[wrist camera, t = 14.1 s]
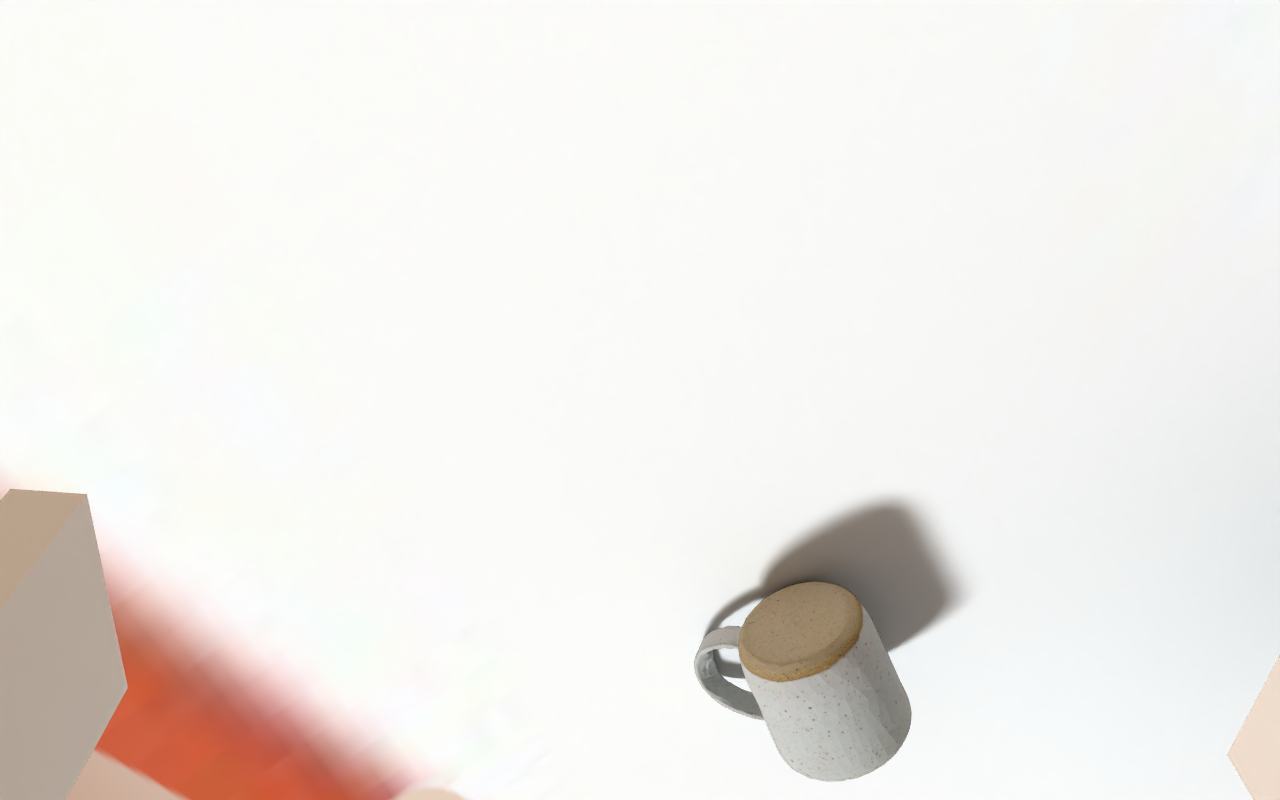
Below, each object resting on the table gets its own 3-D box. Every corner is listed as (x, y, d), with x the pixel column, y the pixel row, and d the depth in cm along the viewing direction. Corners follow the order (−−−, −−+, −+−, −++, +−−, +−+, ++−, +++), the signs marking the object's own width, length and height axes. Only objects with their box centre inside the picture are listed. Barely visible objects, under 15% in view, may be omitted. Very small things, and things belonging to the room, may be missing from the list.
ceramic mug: (850, 553, 55) (875, 656, 49) (898, 655, 59) (926, 764, 53) (669, 613, 58) (670, 720, 51) (726, 709, 61) (733, 819, 55)
